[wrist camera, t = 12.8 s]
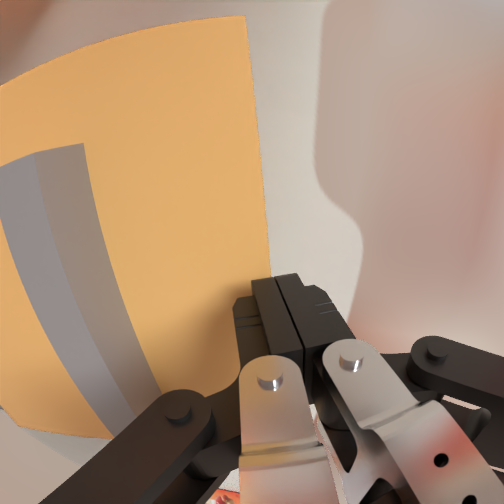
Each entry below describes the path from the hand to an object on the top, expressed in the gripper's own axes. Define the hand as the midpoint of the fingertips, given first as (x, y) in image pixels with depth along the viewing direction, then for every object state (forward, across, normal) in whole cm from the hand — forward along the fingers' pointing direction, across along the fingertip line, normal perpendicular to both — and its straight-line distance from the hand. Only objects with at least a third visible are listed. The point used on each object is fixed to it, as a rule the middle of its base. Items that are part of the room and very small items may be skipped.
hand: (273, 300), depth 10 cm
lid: (+2, +9, 0) cm, 9 cm away
